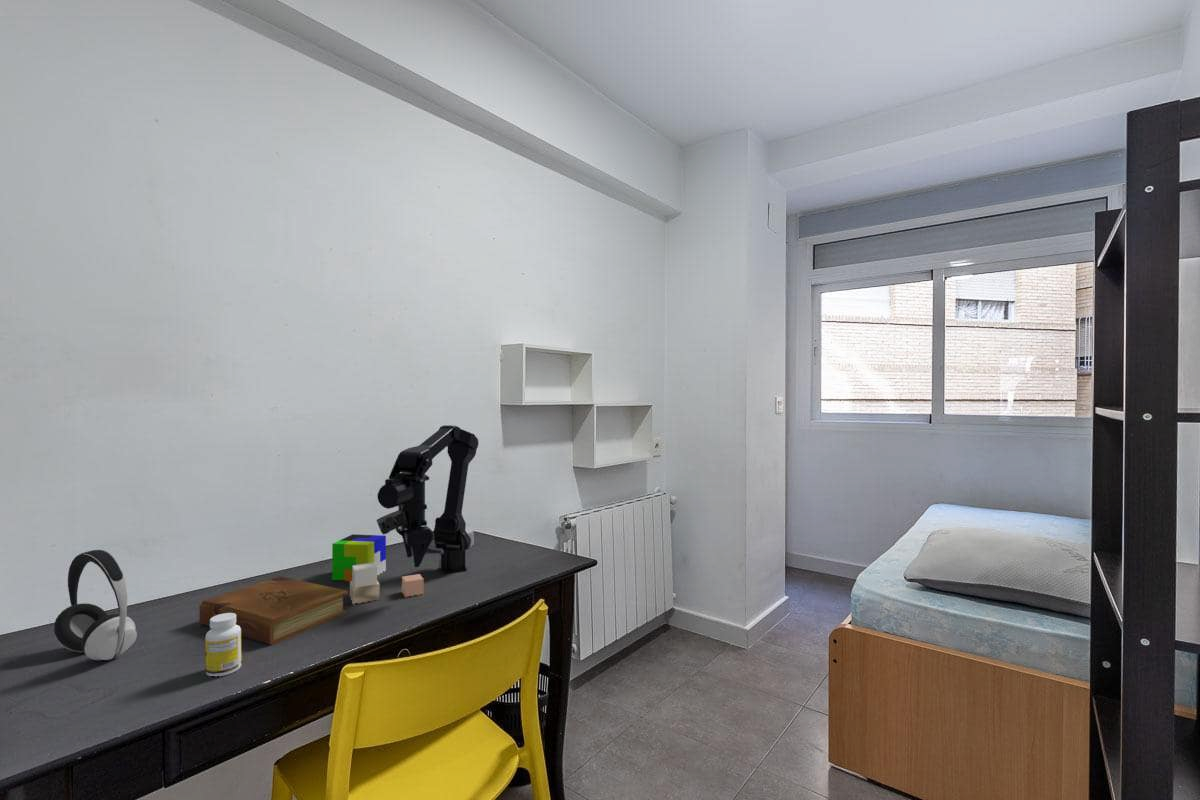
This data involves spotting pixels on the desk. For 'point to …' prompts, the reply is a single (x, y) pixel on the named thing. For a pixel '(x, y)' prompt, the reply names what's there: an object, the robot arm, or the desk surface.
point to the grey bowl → (468, 529)
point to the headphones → (96, 613)
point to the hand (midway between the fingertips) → (413, 561)
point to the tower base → (364, 593)
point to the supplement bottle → (223, 645)
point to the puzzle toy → (357, 554)
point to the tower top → (364, 575)
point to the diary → (276, 608)
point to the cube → (412, 585)
